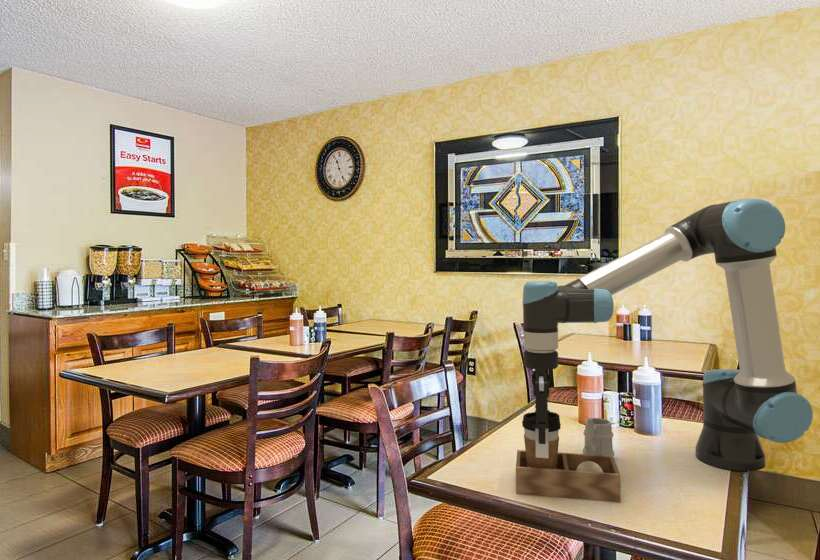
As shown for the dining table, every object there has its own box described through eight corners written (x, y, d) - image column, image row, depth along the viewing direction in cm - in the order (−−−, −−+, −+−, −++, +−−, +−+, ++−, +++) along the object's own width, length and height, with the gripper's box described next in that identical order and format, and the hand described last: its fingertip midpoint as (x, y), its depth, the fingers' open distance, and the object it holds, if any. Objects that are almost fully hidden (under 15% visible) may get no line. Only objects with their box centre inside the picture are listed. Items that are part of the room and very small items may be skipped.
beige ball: (602, 484, 118) (602, 457, 117) (606, 495, 112) (605, 468, 112) (574, 482, 119) (574, 456, 119) (576, 493, 113) (576, 466, 113)
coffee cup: (562, 489, 113) (562, 420, 112) (523, 486, 114) (522, 419, 114) (559, 474, 121) (559, 410, 121) (522, 471, 123) (521, 408, 122)
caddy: (612, 483, 120) (612, 455, 119) (620, 506, 109) (620, 475, 108) (517, 476, 124) (517, 449, 124) (516, 497, 114) (515, 467, 113)
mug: (618, 457, 135) (618, 411, 135) (603, 472, 126) (602, 423, 126) (589, 451, 140) (588, 407, 140) (572, 465, 131) (572, 418, 130)
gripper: (524, 342, 128) (525, 433, 129) (522, 358, 107) (523, 466, 108) (555, 342, 126) (556, 435, 127) (560, 358, 106) (561, 469, 106)
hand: (541, 449), depth 117 cm, fingers closed on coffee cup, 8 cm apart
